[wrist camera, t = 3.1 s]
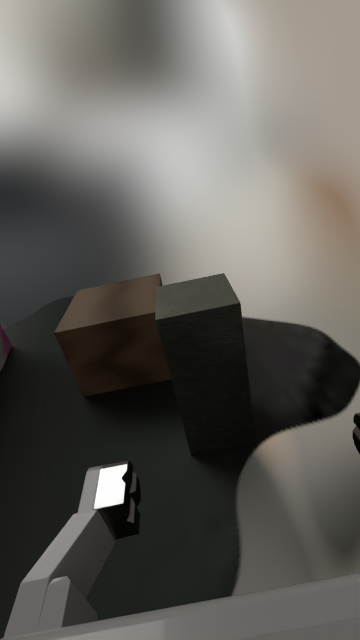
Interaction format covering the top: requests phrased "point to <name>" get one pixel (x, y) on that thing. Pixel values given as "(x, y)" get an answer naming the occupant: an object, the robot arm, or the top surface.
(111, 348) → the walnut block
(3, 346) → the gum box
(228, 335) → the brushed metal block
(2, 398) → the top surface
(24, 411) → the top surface
